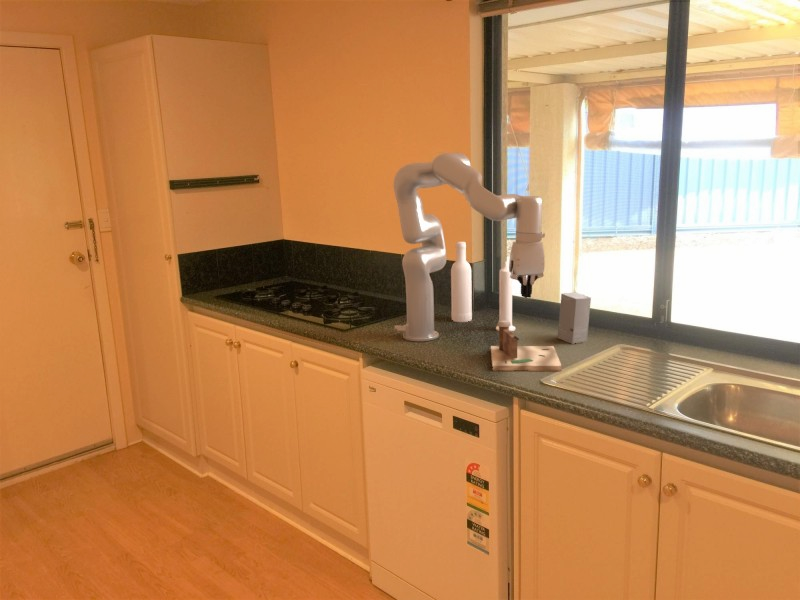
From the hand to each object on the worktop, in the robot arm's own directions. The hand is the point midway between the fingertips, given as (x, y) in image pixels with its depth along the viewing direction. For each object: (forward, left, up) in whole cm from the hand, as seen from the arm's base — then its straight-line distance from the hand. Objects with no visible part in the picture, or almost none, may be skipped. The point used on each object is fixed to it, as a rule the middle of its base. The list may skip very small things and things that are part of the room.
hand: (526, 296), depth 208 cm
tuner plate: (-1, -4, -19) cm, 20 cm away
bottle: (-21, +46, -20) cm, 54 cm away
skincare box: (+17, +18, -20) cm, 32 cm away
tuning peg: (-5, -3, -18) cm, 19 cm away
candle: (-5, +32, -20) cm, 38 cm away
